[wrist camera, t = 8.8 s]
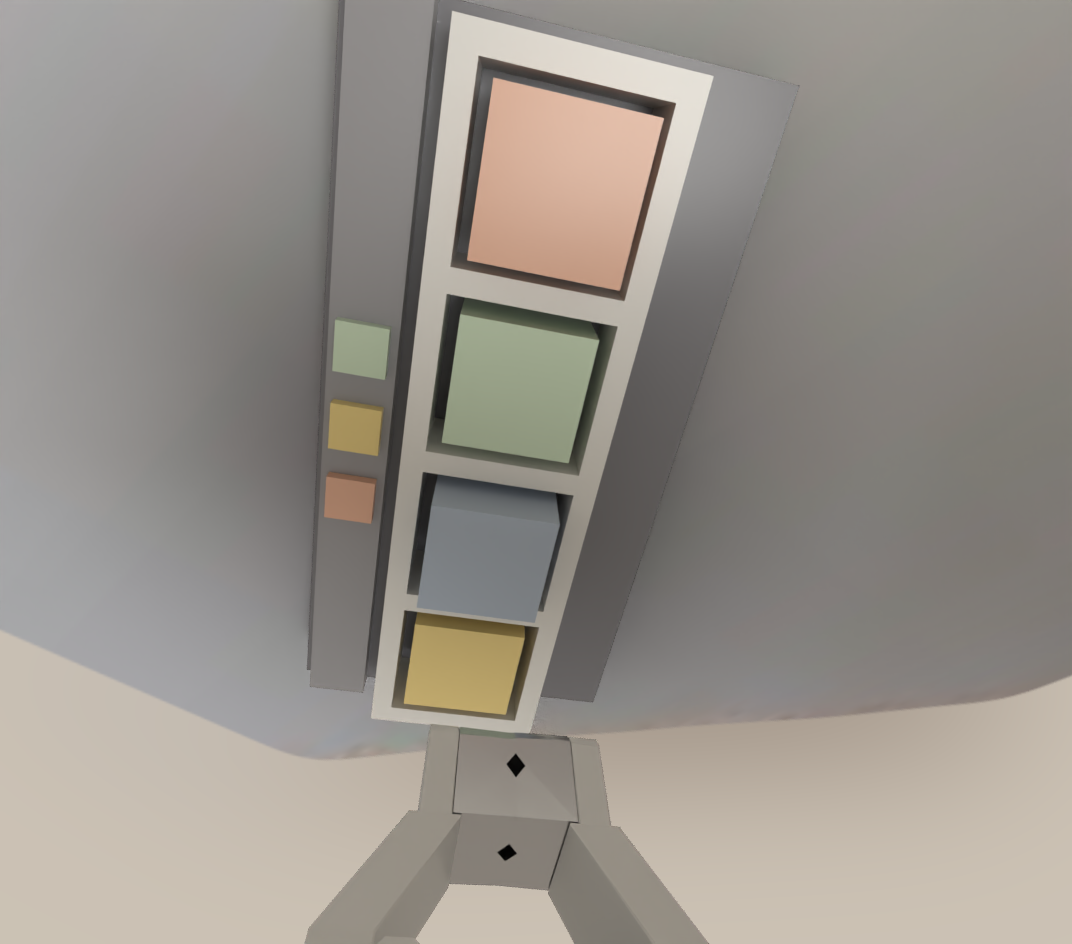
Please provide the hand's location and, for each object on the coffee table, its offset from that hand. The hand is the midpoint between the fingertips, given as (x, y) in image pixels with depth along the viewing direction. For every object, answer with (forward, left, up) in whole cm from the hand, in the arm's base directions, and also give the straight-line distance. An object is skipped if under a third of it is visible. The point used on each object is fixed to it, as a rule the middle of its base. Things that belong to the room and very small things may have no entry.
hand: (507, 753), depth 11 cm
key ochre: (0, +10, -14) cm, 17 cm away
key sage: (0, -2, -14) cm, 14 cm away
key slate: (0, +4, -13) cm, 14 cm away
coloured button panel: (0, +1, -17) cm, 17 cm away
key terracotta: (0, -9, -13) cm, 16 cm away
